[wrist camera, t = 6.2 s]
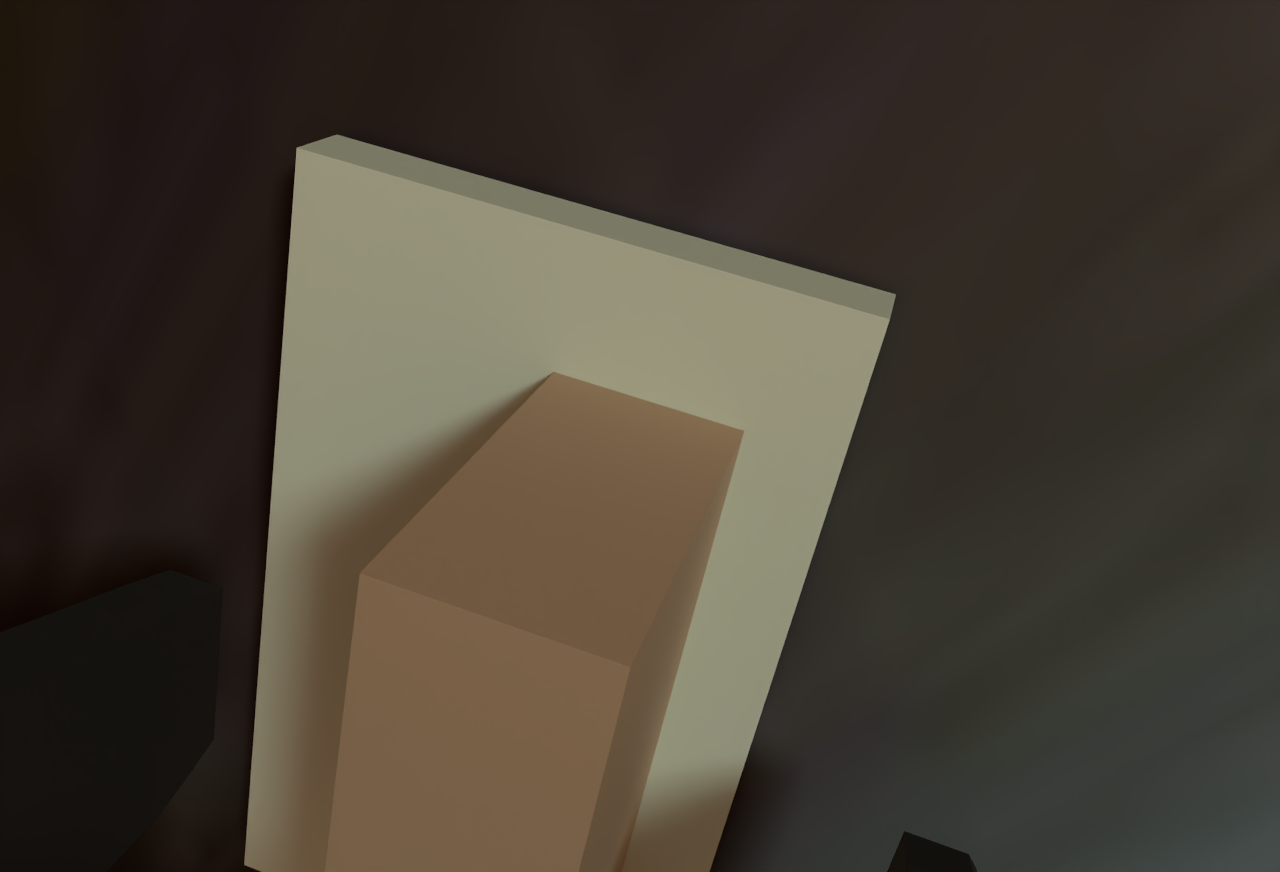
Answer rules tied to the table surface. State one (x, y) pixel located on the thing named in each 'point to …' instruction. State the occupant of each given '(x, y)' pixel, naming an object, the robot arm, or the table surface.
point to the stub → (530, 522)
